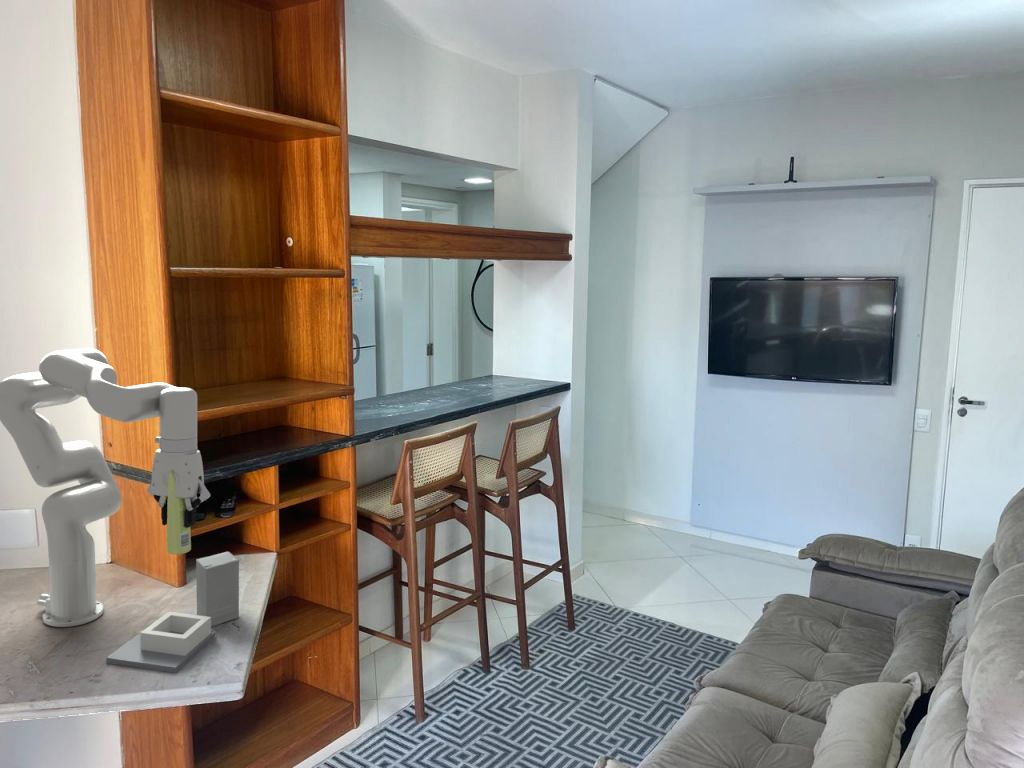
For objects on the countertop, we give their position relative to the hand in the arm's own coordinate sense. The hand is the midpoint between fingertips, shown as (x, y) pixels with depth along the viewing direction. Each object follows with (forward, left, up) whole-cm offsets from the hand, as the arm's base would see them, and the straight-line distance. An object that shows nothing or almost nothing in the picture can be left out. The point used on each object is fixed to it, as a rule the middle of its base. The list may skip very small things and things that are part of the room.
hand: (178, 523), depth 164 cm
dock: (-2, -3, -29) cm, 29 cm away
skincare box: (+2, +13, -29) cm, 32 cm away
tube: (0, 0, -7) cm, 7 cm away
